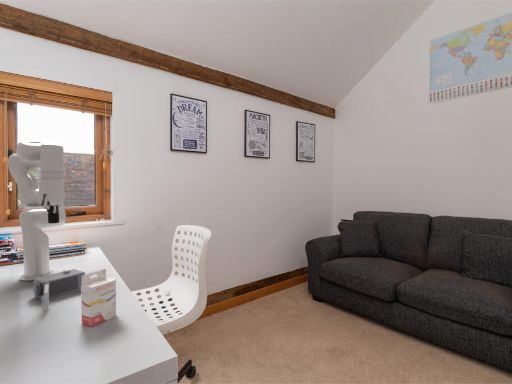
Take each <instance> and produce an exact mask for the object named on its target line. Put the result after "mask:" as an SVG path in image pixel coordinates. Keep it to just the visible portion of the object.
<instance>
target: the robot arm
mask: <svg viewBox="0 0 512 384" xmlns="http://www.w3.org/2000/svg"><path fill="white" fill-rule="evenodd" d="M15 152H16V153H12V154H10V155H9V156H8V159H7V167H8V169H9V173H10V175H11V177H12V178H13V180H14V181H15V183H16V185H17V186H16V187H17V192H18V196H19V197H18V198H19V202H20V205H21V206H22V208H25V209H24V210H22V211H21V212H20V213H19V214H18V215H19V216H18V219H19V220H18V221H19V224H20V228H21V236H22V252H23V253H22V254H23V274H21V275H20V276H19V280H20V281H26V282H27V281H34V278H38V277H42V276H46V275H50V274H54V273H55V271H54V270H51V267H50V266H51V265H50V263H51V262H50V243H49V240H50V238H49V236H48V234H47V233H45V231H43V230H42V229H47V228H48V229H49V228H57V227H61V226H64V225H65V223H66V220H67V216H66V210H65V206H64V203H65V201H66V195H65V194H66V192H65V183H64V180H65V166H64V164H65V163H64V161H65V159H64V157H65V155H64V147H63V145H61V144H59V143H57V142H56V141H54V140H51V139H43V138H26V139H23V140H22V141H19V142H18V144H17V145H16V149H15ZM30 172H40V173H39V175H40V179H39V180H38V178H37V177H35V176H34V175H33V174H32V173H30Z"/></svg>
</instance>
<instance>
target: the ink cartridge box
mask: <svg viewBox="0 0 512 384" xmlns="http://www.w3.org/2000/svg"><path fill="white" fill-rule="evenodd" d="M94 275H95V277H93V276H94ZM96 275H97V276H96ZM106 276H107V269H106V268H102V269H99V270H96V271H92V272H90V273H85V275H82V281H81V291H80V300H81V301H80V302H81V303H80V305H81V307H80V308H81V309H80V310H81V312H80V313H81V324H82V325H85V326H88V327H91V328H93V327H95V326H97V325H100V324H101V323H103V322H105V321H107V320H110V319H112V318H114V317H117V282H116V281H117V280H116V279H115V278H110V277H106Z"/></svg>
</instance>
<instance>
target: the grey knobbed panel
mask: <svg viewBox="0 0 512 384" xmlns="http://www.w3.org/2000/svg"><path fill="white" fill-rule="evenodd" d="M85 274H86V272H85V271H82V270H79V269H77V268H76V269H75V268H72V269H65V270H63V271H59V272H54V274H50V275H46V276H42V277H38V278H34V280H33V296H34V298H36V299H38V300H40V301H42V296H44V290H45V283H46V282H49V286H50V299H49V301H52V300H54V299H55V300H56V299H58V298H62V297H66V296H69V295H72V294H76V293H78V292H81V281H82V275H85Z"/></svg>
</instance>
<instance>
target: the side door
mask: <svg viewBox="0 0 512 384" xmlns="http://www.w3.org/2000/svg"><path fill="white" fill-rule="evenodd" d="M49 299H50V286H49V282H46V283H45V290H44V296H42V300H41V305H44V310H49V306H50V305H49V304H50V300H49Z"/></svg>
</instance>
